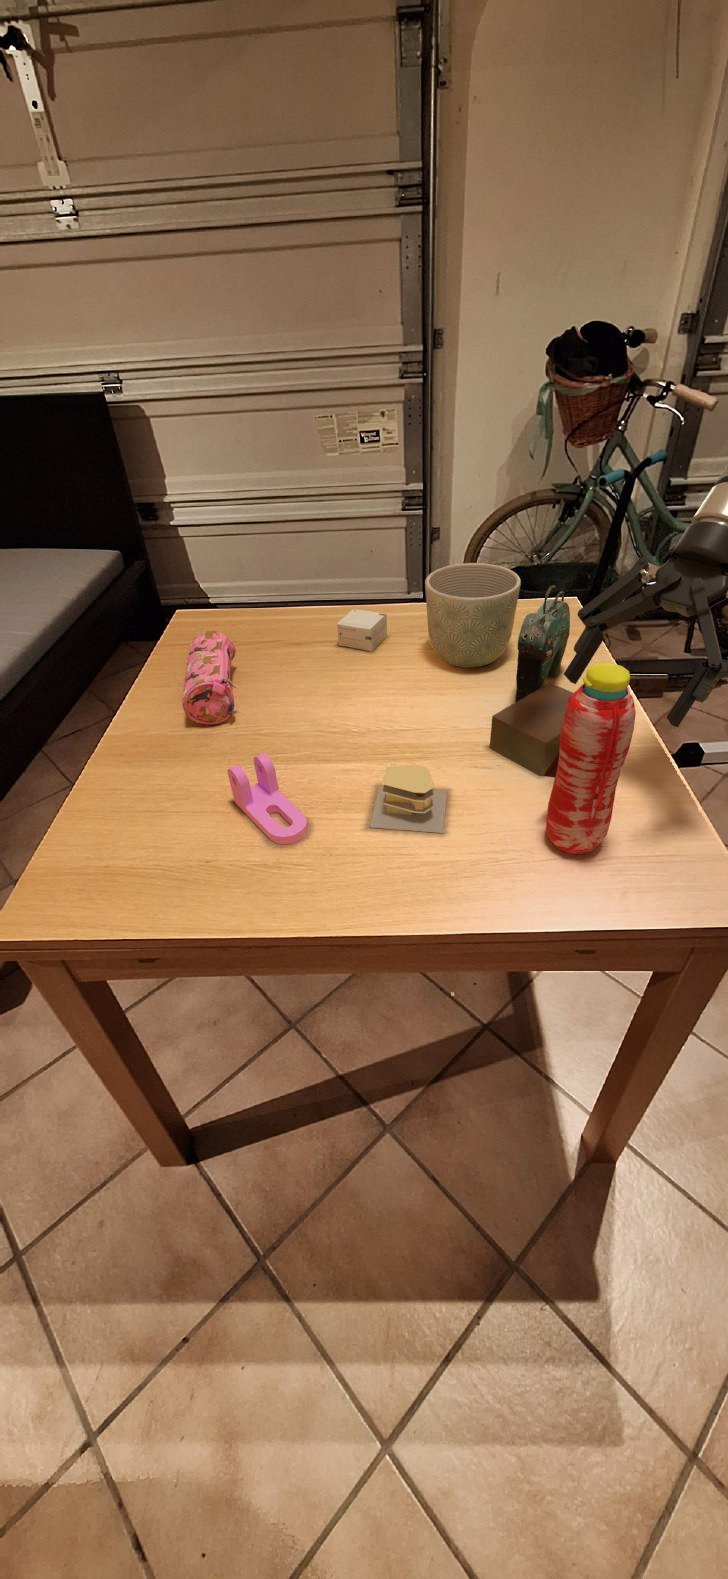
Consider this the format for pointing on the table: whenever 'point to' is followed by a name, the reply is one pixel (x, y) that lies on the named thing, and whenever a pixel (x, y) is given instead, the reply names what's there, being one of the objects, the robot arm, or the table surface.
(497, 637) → the planter
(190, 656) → the pencil case
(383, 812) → the stacked layers on plate
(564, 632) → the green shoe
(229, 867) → the table surface
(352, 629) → the small box
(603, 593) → the robot arm
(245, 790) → the bracket
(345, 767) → the table surface
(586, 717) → the water bottle
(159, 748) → the table surface
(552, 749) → the walnut stand
